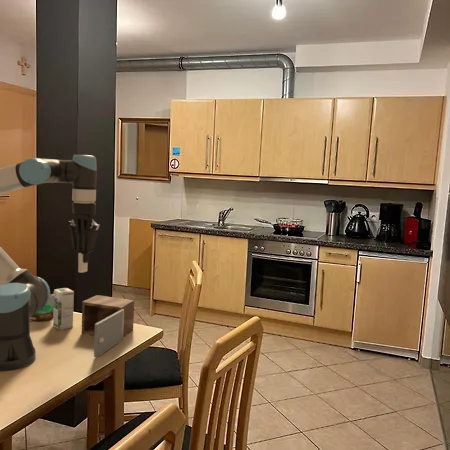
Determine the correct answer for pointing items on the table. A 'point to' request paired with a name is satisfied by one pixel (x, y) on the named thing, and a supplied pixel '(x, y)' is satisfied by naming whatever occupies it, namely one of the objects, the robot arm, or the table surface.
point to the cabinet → (106, 312)
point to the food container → (45, 311)
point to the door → (108, 332)
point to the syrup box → (63, 308)
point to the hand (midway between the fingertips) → (82, 271)
